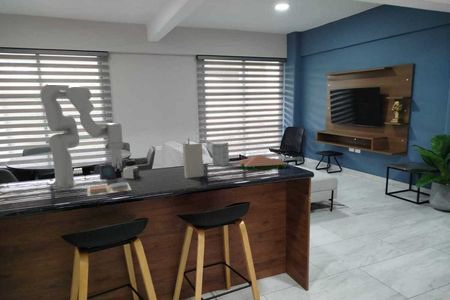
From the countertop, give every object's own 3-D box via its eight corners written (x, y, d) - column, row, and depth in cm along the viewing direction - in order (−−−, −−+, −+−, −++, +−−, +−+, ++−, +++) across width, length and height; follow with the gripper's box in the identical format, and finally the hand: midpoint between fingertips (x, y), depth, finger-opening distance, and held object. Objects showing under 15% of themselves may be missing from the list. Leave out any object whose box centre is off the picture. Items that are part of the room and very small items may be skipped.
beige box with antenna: (203, 176, 195) (202, 137, 191) (186, 178, 190) (184, 138, 187) (200, 174, 202) (198, 136, 198) (183, 176, 198) (181, 137, 194)
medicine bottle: (134, 180, 190) (132, 161, 188) (123, 179, 191) (122, 161, 189) (139, 177, 197) (138, 159, 195) (129, 177, 198) (127, 159, 196)
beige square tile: (111, 187, 170) (112, 190, 163) (111, 183, 170) (112, 187, 163) (126, 185, 173) (127, 188, 166) (125, 181, 173) (127, 185, 166)
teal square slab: (90, 190, 166) (90, 193, 159) (89, 186, 165) (90, 190, 158) (105, 187, 169) (106, 191, 162) (105, 184, 169) (106, 187, 161)
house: (235, 165, 228) (235, 154, 227) (277, 162, 233) (277, 152, 231) (241, 171, 206) (241, 159, 205) (287, 168, 210) (287, 157, 209)
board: (87, 197, 155) (87, 196, 154) (87, 189, 171) (87, 187, 171) (131, 191, 163) (131, 189, 163) (127, 184, 180) (127, 182, 180)
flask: (99, 179, 194) (98, 163, 193) (100, 178, 197) (98, 162, 196) (115, 177, 197) (113, 161, 196) (115, 177, 200) (113, 161, 199)
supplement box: (229, 164, 230) (228, 142, 228) (223, 166, 223) (222, 144, 220) (219, 163, 235) (218, 142, 233) (212, 165, 228) (211, 143, 225)
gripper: (107, 144, 171) (110, 176, 174) (109, 147, 157) (112, 181, 160) (121, 143, 174) (124, 174, 177) (124, 146, 160) (127, 179, 163)
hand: (118, 177), depth 168 cm, fingers closed
